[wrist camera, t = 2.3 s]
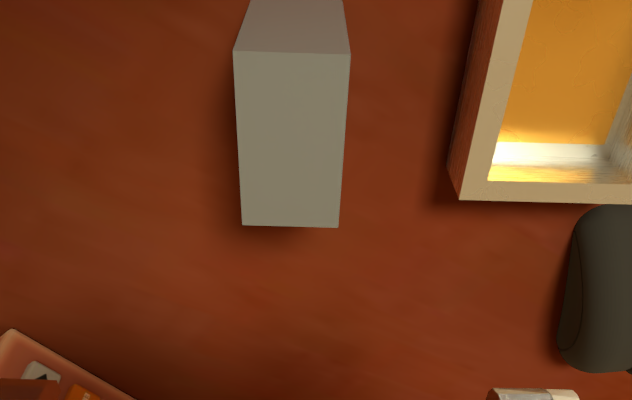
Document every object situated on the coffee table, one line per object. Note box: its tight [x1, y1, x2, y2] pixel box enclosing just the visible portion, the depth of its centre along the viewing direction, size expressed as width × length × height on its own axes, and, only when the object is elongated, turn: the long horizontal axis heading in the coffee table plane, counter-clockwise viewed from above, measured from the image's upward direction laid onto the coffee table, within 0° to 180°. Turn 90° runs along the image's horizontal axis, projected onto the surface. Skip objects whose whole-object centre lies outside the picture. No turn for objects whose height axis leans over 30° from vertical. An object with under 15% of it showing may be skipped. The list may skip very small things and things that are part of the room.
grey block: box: [233, 0, 351, 228], centre depth 20 cm, size 6×4×6 cm, turn 178°
